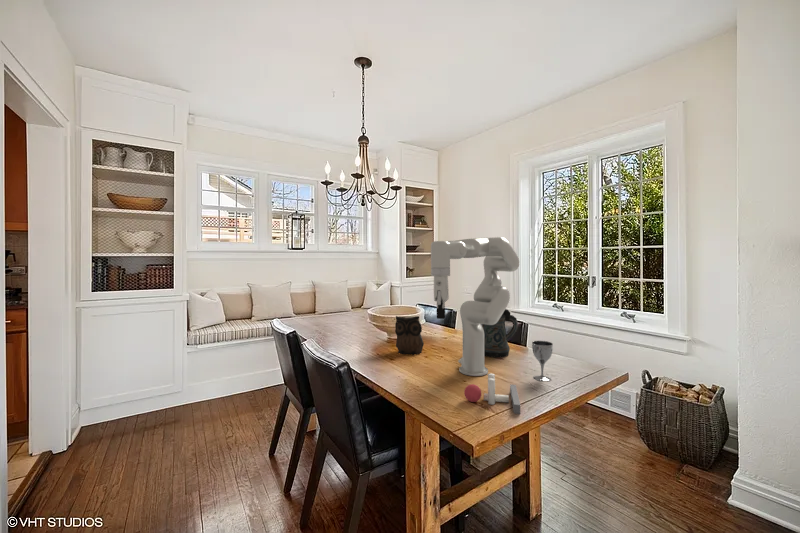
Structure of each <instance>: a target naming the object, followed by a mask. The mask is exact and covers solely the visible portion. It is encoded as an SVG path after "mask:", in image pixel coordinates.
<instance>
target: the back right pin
mask: <svg viewBox="0 0 800 533" xmlns="http://www.w3.org/2000/svg"><path fill="white" fill-rule="evenodd" d="M487 394H488V401H487V404H488V405H491V406H493V405H495V404H496V401H495V394H496V378H495V379H493V378H489V379H488V378H487Z"/></svg>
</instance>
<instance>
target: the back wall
mask: <svg viewBox="0 0 800 533" xmlns="http://www.w3.org/2000/svg"><path fill="white" fill-rule="evenodd" d="M509 393H510V400H511V403H512V411H513V414H517V415H521V402H520V397H519V393H518V388H517V385H516V384H510V385H509Z"/></svg>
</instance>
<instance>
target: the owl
mask: <svg viewBox="0 0 800 533" xmlns="http://www.w3.org/2000/svg"><path fill="white" fill-rule="evenodd" d="M394 324H395V325H394V328H395V329H394V331H395V332H394V333H395V335H396V343H395V347H396V348H397V351H398V352H397V353H398V354H399V353H400V355H407V354H412V356H413V355H414V354H416V355H420V353H423V348H424V344H425V343H424V340H423V336H422V332H423V331H422V330H423V329H422V328H423V327H422V324H421V322H420V316H419V315H417V316H412V315H411V316H410V315H409V316H408V315H404V316H403V315H402V316H397V315H396V316H395V323H394ZM414 356H415V355H414Z"/></svg>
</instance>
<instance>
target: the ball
mask: <svg viewBox="0 0 800 533" xmlns="http://www.w3.org/2000/svg"><path fill="white" fill-rule="evenodd" d="M463 394H464V395H463V396H464V397H465V399H466V400H467V401H469V402H471V403H477V402H478V401H480V399H481V398H482V390H481V387H479V386H478V385H477V384H474V383H473V384H467V385H466V387H465V388H464V393H463Z"/></svg>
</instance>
